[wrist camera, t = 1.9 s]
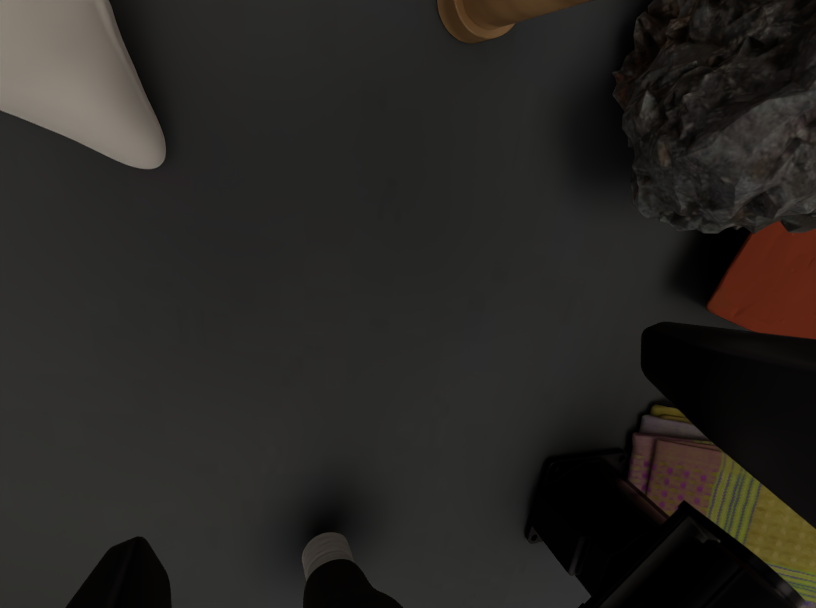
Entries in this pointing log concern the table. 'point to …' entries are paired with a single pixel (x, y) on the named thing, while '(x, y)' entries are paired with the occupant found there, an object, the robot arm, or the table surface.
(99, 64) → the nose
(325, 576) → the light bulb
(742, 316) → the brick
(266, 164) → the table surface
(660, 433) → the dish towel
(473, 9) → the pestle
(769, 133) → the rock
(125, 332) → the table surface
